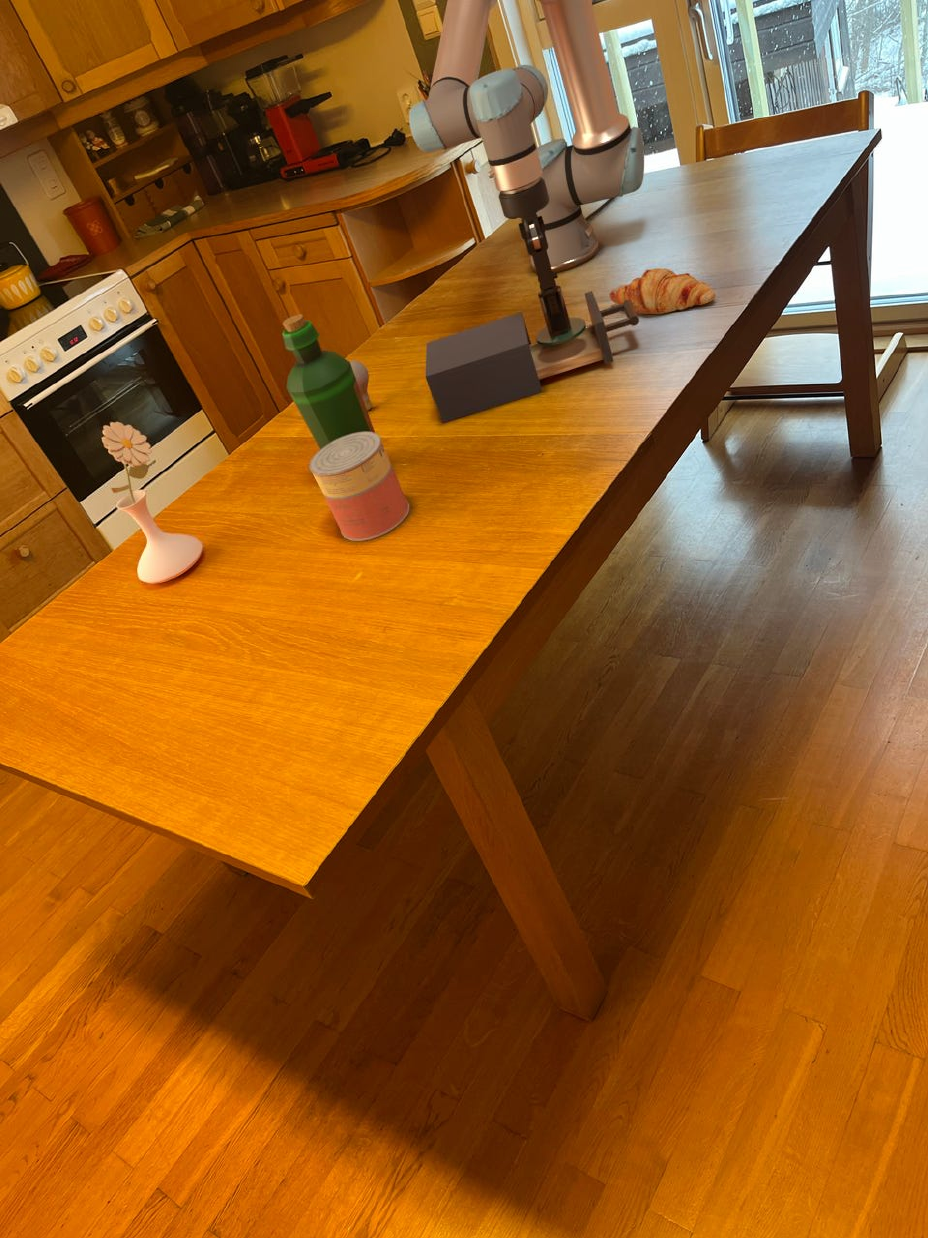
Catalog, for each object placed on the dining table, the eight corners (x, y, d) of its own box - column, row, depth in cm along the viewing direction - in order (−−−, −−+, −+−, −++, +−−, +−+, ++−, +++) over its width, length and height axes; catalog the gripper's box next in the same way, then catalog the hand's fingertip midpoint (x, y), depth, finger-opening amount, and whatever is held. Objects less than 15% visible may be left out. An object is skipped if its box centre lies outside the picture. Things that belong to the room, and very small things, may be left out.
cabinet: (535, 357, 165) (521, 311, 160) (542, 391, 153) (528, 343, 148) (442, 387, 168) (426, 342, 163) (442, 423, 157) (425, 376, 151)
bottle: (402, 454, 152) (336, 297, 136) (379, 491, 145) (307, 329, 128) (349, 462, 157) (279, 310, 140) (324, 497, 150) (247, 341, 133)
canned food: (423, 503, 137) (395, 435, 130) (373, 546, 132) (341, 478, 125) (376, 492, 145) (347, 428, 138) (327, 533, 140) (294, 468, 133)
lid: (534, 331, 159) (522, 290, 155) (582, 315, 158) (571, 273, 153) (538, 351, 152) (526, 308, 148) (589, 334, 151) (578, 291, 146)
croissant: (725, 314, 161) (729, 266, 159) (700, 312, 154) (704, 262, 151) (622, 315, 174) (624, 271, 172) (594, 314, 167) (596, 268, 164)
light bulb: (386, 401, 172) (366, 353, 166) (373, 416, 168) (353, 367, 163) (363, 403, 175) (343, 356, 169) (350, 418, 171) (329, 371, 165)
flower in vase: (174, 593, 141) (84, 458, 126) (130, 586, 148) (40, 457, 133) (227, 542, 149) (148, 409, 134) (183, 538, 155) (103, 410, 140)
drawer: (632, 318, 161) (624, 279, 157) (647, 350, 149) (639, 309, 145) (504, 360, 165) (493, 323, 161) (509, 394, 154) (496, 355, 149)
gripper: (494, 179, 147) (533, 313, 161) (500, 207, 134) (541, 350, 148) (538, 163, 146) (574, 299, 160) (548, 190, 133) (586, 336, 147)
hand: (558, 323), depth 154 cm, fingers closed on lid, 4 cm apart
